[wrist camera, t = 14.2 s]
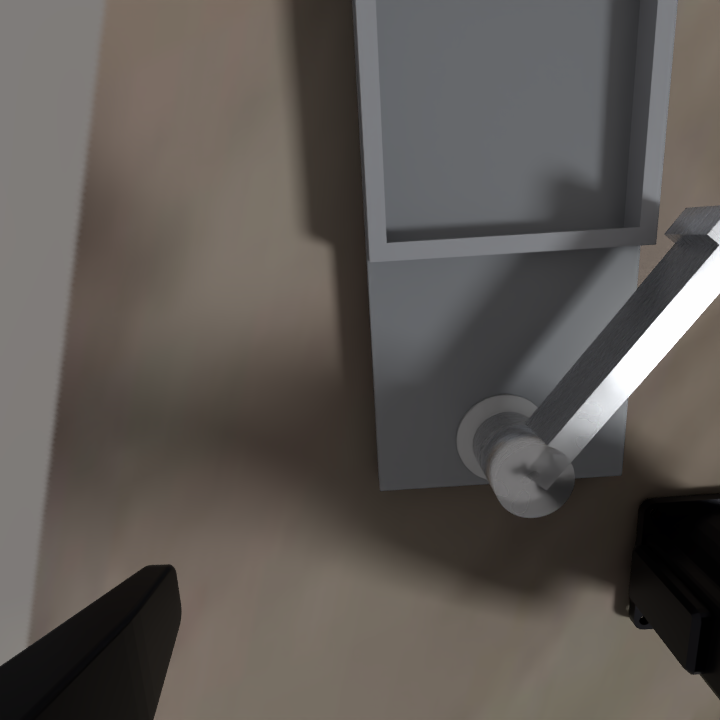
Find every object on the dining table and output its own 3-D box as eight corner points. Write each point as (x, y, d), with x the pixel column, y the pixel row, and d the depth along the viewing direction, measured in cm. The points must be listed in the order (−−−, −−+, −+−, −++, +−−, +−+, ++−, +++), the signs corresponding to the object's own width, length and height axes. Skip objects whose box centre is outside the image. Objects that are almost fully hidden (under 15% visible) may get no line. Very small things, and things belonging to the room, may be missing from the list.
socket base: (662, -299, 15) (713, -388, 13) (606, 462, 21) (635, 488, 19) (335, -280, 15) (333, -367, 13) (378, 476, 21) (381, 504, 19)
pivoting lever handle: (713, 249, 17) (788, 252, 14) (510, 486, 19) (539, 531, 16) (660, 204, 17) (725, 198, 14) (458, 451, 19) (478, 491, 16)
